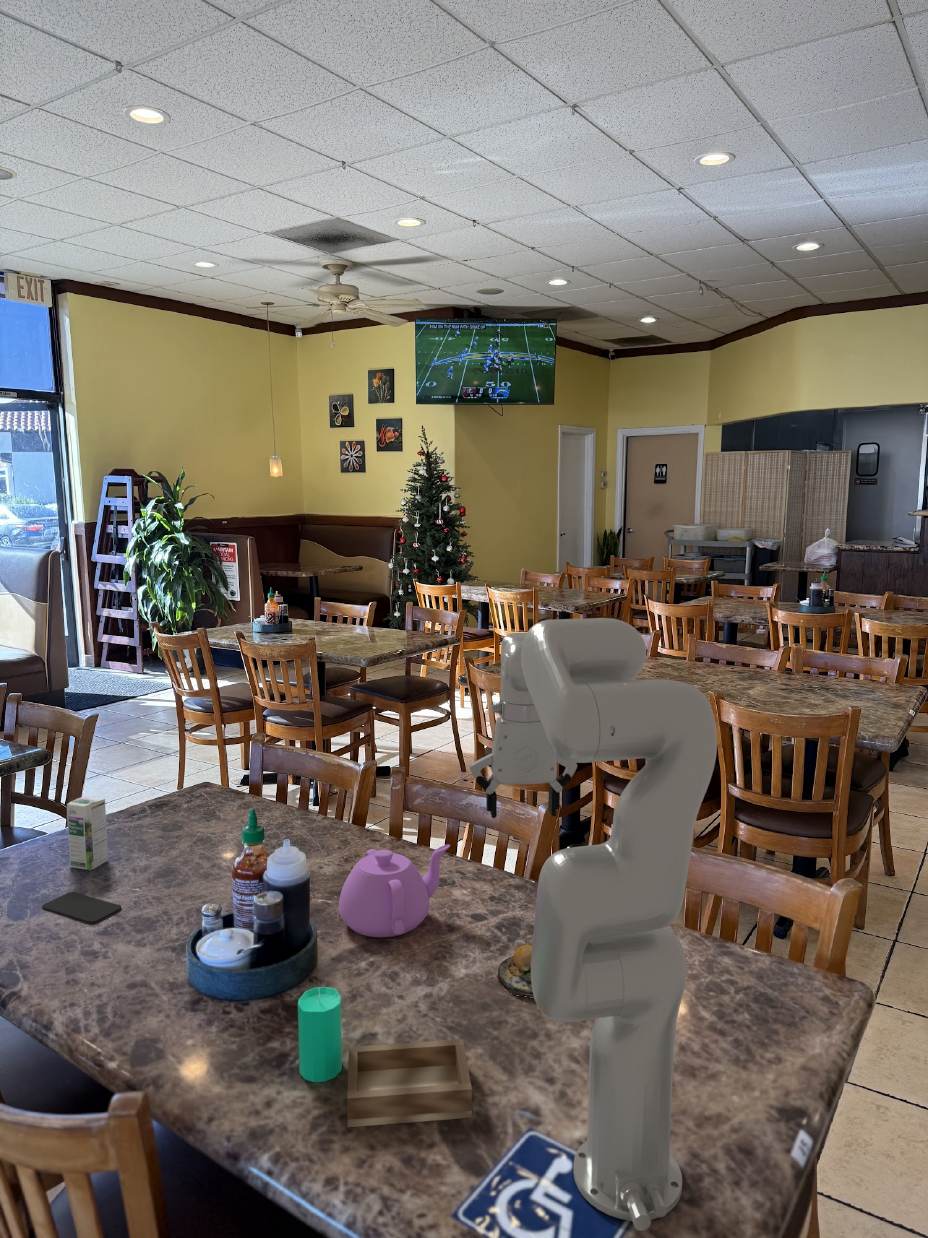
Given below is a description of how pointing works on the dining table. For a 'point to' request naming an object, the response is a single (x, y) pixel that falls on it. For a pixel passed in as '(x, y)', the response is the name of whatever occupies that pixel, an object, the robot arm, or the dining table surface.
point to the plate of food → (517, 972)
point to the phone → (82, 907)
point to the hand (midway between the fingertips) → (522, 814)
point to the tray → (408, 1083)
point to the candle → (320, 1034)
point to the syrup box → (87, 833)
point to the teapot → (388, 893)
